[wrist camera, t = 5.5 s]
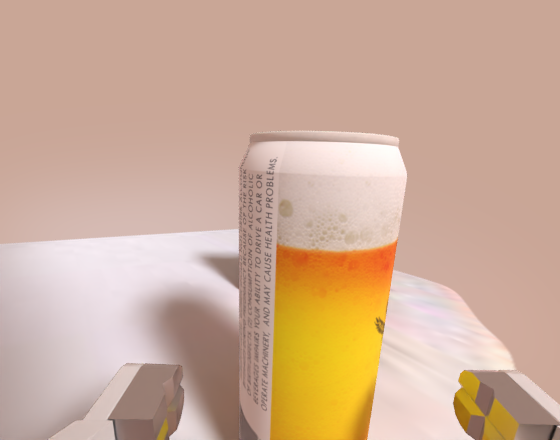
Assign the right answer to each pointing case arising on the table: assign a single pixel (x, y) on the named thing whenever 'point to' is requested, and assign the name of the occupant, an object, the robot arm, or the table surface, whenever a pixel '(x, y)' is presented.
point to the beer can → (314, 280)
